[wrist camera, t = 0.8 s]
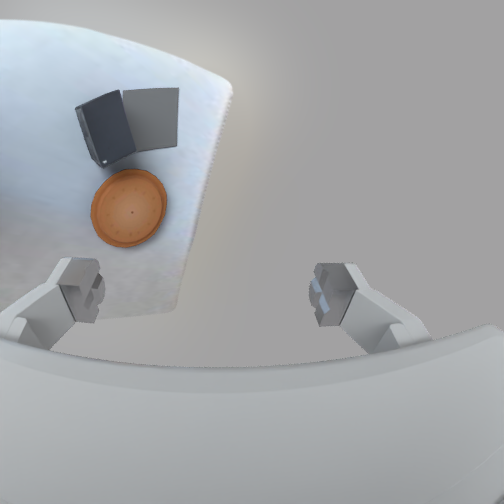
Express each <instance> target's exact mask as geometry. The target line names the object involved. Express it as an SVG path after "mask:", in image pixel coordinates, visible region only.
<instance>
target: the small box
mask: <svg viewBox="0 0 504 504" xmlns="http://www.w3.org/2000/svg"><path fill="white" fill-rule="evenodd" d="M75 110H76V113H77V117H78V120H79V123H80V126H81V129H82V132H83V135H84V139H85V141H86V144H87V147H88V150H89V152H90V155H91V158H92V159H93V160H94V161H95V162H96V163H97V164H98V165H99V166H100V167H101V168H103V169H104V168H105V167H107V166H109V165H111V164H113V163H115V162H117V161H119V160H121V159H123V158H125V157H127V156H129V155H131V154H133V153H135V152H137V149H136V146H135V143H134V140H133V136H132V133H131V130H130V126H129V123H128V120H127V116H126V113H125V109H124V105H123V102H122V98H121V94H120V90H115V91H112V92H110V93H107V94H104V95H102V96H100V97H98V98H95V99H93V100H91V101H89V102H86V103H84V104H82V105H80V106H78V107H76V108H75Z"/></svg>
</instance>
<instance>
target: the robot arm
mask: <svg viewBox="0 0 504 504" xmlns="http://www.w3.org/2000/svg"><path fill="white" fill-rule="evenodd" d="M99 270H100V266H99V263H98V261H97V260H96V259H89V258H70V257H64V258H61V260H60V261H59V263H58V264H57V266H56V267H55V269H54V270H53V272H52V273H51V275H50V277H49V278H48V280H47V281H46V283H45V284H44V283H42V284H41V285H39V286H38V287H36V288H35V289H33V290H32V291H30V292H29V293H27V294H26V295H24V296H23V297H21V298H20V299H19V300H17V301H16V302H14V303H13V304H12V305H10V306H9V307H7V308H6V309H5V310H3V311H2V312H1V313H0V504H504V332H503V331H502V330H500V329H499V328H498V327H496V326H494V325H492V324H484V325H481V326H478V327H475V328H472V329H469V330H466V331H463V332H460V333H457V334H454V335H450V336H447V337H443V338H440V339H436V340H432V338H431V336H430V335H429V333H428V332H427V330H426V328H425V326H424V325H423V323H422V322H421V320H420V319H419V318H418V317H416V316H415V315H413V314H412V313H410V312H409V311H407V310H406V309H404V308H403V307H401V306H400V305H398V304H397V303H395V302H394V301H392V300H391V299H389V298H387V297H386V296H384V295H382V294H381V293H380V292H378V291H377V290H375V289H371V288H370V287H369V285H368V283H367V282H366V280H365V279H364V277H363V275H362V274H361V272H360V271H359V269H358V267H357V266H356V264H354V263H318V264H317V265H316V266H315V269H314V274H315V276H316V277H315V278H314V279H313V280H312V281H311V283H310V286H309V299H310V302H311V305H312V306H313V307H315V308H316V311H315V316H316V319H317V321H318V324H319V326H320V327H321V326H339V325H340V327H341V328H342V329H343V330H344V331H345V332H346V333H347V334H348V335H349V336H350V337H351V338H352V339H353V340H354V341H356V343H358V344H359V345H360V346H361V347H362V348H363V349H364V350H365V351H366V352H367V353H368V355H362V356H356V357H350V358H342V359H336V360H327V361H320V362H310V363H301V364H289V365H275V366H259V367H212V368H211V367H176V366H158V365H146V364H134V363H124V362H115V361H108V360H101V359H93V358H87V357H81V356H75V355H70V354H64V353H59V352H54V351H50V350H49V349H50V348H51V347H52V346H53V345H54V344H55V343H56V342H57V341H58V340H59V339H60V338H61V337H62V336H63V335H64V334H65V333H66V332H67V331H68V330H69V329H70V328H71V327H72V326H73V325H74V324H75V322H85V323H94V322H95V319H96V317H97V314H98V311H99V309H98V306H97V305H98V304H100V303H101V302H102V301H103V298H104V293H105V284H104V280H103V277H102V276H101V275H100V274H99V273H98V272H99Z"/></svg>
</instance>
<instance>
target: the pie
mask: <svg viewBox="0 0 504 504" xmlns="http://www.w3.org/2000/svg"><path fill="white" fill-rule="evenodd" d="M166 205H167V195H166V192H165V189H164V186H163V184H162V183H161V182H160V181H159V179H158V178H157V177H156V176H154V175H153V174H151V173H149V172H148V171H144V170H139V169H125V170H122V171H120V172H118V173H115V174H113V175H112V176H111V177H110V178H109V179H107V180H106V181H105V182H104V183H103V184H102V186H101V187H100V188H99V189H98V191H97V192H96V194H95V196H94V199H93V202H92V205H91V220H92V223H93V226H94V229H95V231H96V233H97V234H98V236H99V237H100V238H101V239H102V240H104V241H105V242H106V243H108V244H110V245H113V246H116V247H125V248H127V247H131V246H136V245H138V244H140V243H142V242H144V241H146V240H147V239H149V238H150V237H151V236H153V235H154V234H155V232H156V231H157V229H158V227H159V226H160V224H161V222H162V220H163V218H164V216H165V211H166Z"/></svg>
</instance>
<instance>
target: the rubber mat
mask: <svg viewBox="0 0 504 504" xmlns="http://www.w3.org/2000/svg"><path fill="white" fill-rule="evenodd" d="M178 91H179V88H153V89H137V90H126V91H123V105H124V109H125V113H126V116H127V120H128V123H129V126H130V130H131V133H132V136H133V140H134V143H135V146H136V149H137V152H138V151H144V150H150V149H157V148H164V147H171V146H177V112H178Z"/></svg>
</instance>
